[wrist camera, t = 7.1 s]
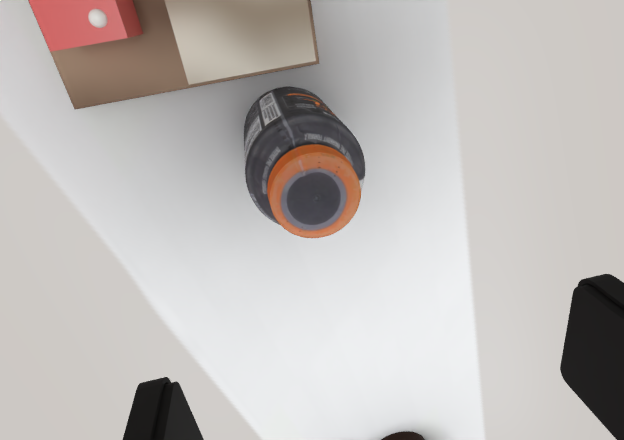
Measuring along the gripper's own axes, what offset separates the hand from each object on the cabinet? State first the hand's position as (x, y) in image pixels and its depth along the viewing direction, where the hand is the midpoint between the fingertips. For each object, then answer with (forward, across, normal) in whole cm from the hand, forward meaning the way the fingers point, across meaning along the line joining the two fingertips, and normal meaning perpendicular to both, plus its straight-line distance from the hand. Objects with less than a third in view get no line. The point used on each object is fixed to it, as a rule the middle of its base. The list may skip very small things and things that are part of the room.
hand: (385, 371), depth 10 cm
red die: (+20, +9, -10) cm, 24 cm away
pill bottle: (+21, 0, -1) cm, 21 cm away
